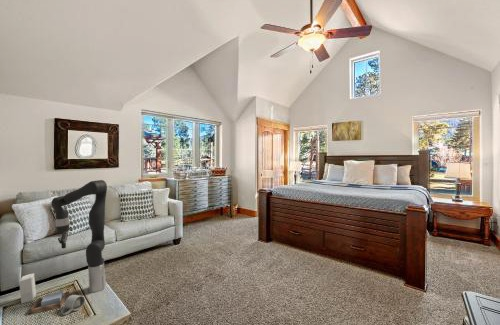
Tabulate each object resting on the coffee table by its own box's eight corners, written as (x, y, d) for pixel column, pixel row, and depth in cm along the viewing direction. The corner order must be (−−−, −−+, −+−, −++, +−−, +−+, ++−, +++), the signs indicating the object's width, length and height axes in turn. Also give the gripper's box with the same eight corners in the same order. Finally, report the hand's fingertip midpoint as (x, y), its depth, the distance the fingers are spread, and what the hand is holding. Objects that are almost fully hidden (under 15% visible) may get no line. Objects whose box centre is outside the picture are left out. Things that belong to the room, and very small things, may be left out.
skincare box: (33, 300, 148) (31, 278, 147) (20, 304, 145) (18, 281, 144) (36, 294, 155) (34, 272, 154) (23, 297, 152) (22, 275, 151)
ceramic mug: (75, 302, 145) (75, 291, 145) (85, 305, 143) (84, 293, 143) (57, 314, 135) (56, 302, 135) (67, 317, 133) (66, 304, 132)
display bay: (67, 295, 153) (67, 291, 153) (60, 307, 141) (60, 303, 141) (39, 301, 147) (38, 297, 147) (29, 314, 135) (28, 310, 135)
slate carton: (63, 298, 151) (63, 290, 151) (60, 305, 144) (60, 297, 144) (45, 302, 146) (45, 295, 146) (41, 310, 139) (41, 302, 139)
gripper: (65, 226, 160) (67, 250, 161) (71, 221, 172) (73, 243, 173) (52, 227, 157) (53, 252, 158) (59, 222, 169) (60, 245, 170)
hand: (63, 248), depth 165 cm, fingers closed
